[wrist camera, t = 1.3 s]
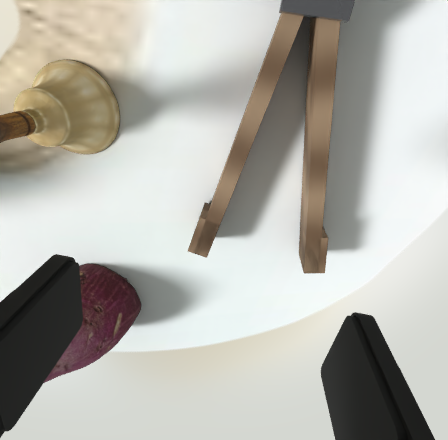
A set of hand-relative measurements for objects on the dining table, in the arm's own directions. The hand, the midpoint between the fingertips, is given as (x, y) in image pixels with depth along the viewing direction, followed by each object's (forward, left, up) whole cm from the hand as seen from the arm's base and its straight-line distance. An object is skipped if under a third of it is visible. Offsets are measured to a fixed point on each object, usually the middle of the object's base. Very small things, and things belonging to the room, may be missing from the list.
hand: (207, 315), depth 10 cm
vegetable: (+21, -14, -21) cm, 33 cm away
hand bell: (-2, -16, -21) cm, 26 cm away
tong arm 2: (-2, 0, -20) cm, 20 cm away
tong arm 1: (-2, +7, -20) cm, 21 cm away
